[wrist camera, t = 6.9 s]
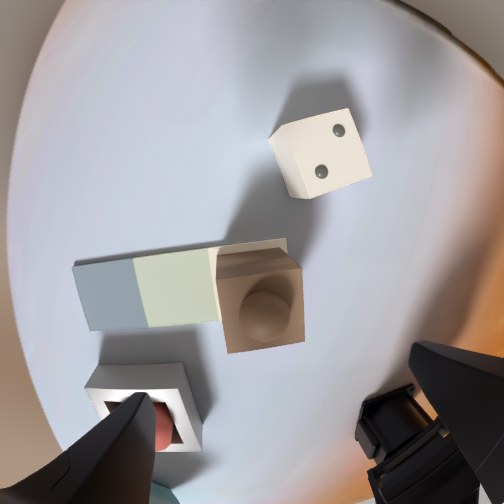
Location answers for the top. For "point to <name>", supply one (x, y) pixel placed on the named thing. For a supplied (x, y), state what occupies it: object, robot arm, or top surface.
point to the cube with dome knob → (260, 299)
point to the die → (320, 154)
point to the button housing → (159, 389)
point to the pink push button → (162, 426)
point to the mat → (156, 288)
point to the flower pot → (161, 495)
